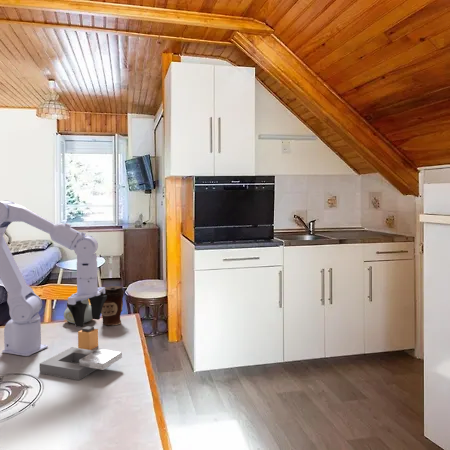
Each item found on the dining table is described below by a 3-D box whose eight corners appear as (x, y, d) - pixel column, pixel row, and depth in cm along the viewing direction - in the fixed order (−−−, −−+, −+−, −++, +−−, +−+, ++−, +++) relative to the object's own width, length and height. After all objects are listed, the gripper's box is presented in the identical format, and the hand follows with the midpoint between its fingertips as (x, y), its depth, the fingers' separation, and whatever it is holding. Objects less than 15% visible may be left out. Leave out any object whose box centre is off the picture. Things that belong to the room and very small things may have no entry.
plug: (78, 349, 118) (77, 329, 117) (87, 344, 122) (86, 325, 121) (89, 350, 116) (89, 330, 116) (98, 346, 120) (97, 326, 120)
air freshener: (99, 318, 148) (99, 292, 147) (89, 325, 139) (89, 297, 139) (71, 317, 149) (70, 291, 148) (59, 324, 141) (59, 296, 140)
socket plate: (39, 373, 101) (39, 363, 101) (72, 355, 112) (72, 347, 112) (79, 380, 97) (78, 370, 97) (108, 361, 109) (108, 352, 108)
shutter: (79, 365, 99) (79, 359, 99) (99, 354, 107) (99, 348, 107) (103, 369, 97) (103, 363, 97) (121, 357, 105) (121, 352, 105)
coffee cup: (117, 328, 137) (116, 290, 136) (94, 326, 139) (94, 289, 138) (128, 320, 146) (127, 285, 145) (107, 319, 147) (106, 284, 146)
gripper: (82, 283, 110) (83, 331, 110) (113, 273, 123) (114, 317, 124) (61, 281, 112) (62, 329, 113) (94, 272, 126) (94, 315, 126)
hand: (88, 322), depth 119 cm, fingers open, 7 cm apart
